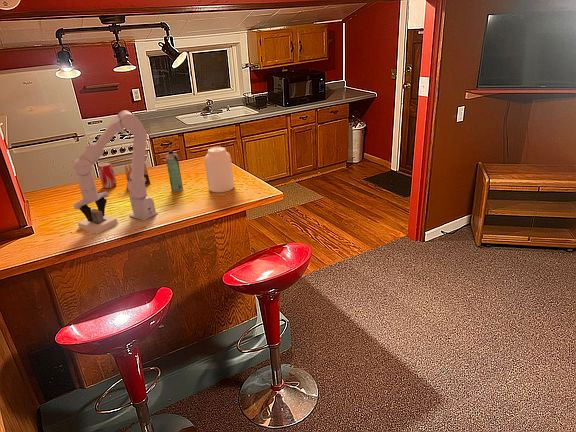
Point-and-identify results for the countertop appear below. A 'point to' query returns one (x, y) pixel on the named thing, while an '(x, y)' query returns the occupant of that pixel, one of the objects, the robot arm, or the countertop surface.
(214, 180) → the white plastic jar
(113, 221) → the socket block
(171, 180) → the spray can
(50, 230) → the countertop surface
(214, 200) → the countertop surface
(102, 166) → the soda can
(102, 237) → the countertop surface
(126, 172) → the ammunition clip
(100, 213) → the key peg
